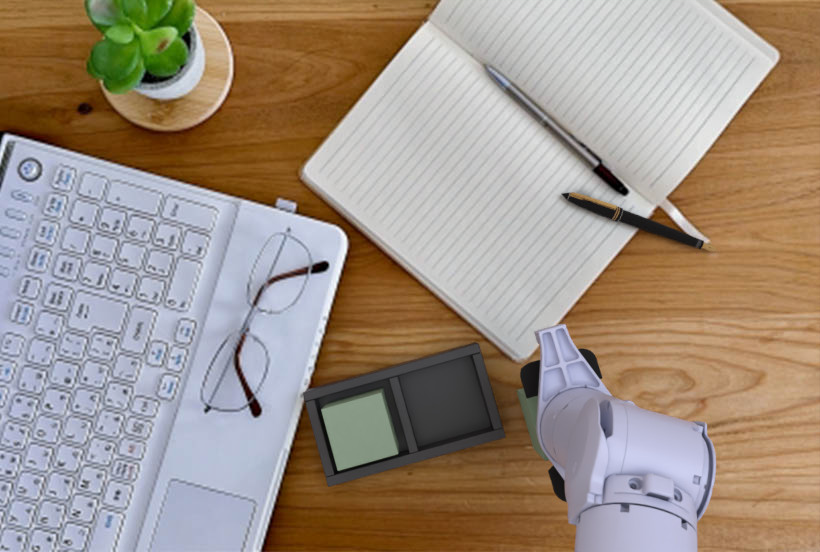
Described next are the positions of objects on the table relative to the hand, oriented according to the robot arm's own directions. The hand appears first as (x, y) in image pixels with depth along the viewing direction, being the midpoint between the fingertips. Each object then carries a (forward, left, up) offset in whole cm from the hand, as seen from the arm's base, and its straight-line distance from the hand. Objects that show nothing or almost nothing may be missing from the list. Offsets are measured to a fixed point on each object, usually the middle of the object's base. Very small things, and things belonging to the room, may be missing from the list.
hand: (557, 414), depth 66 cm
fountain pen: (+13, -12, -5) cm, 18 cm away
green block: (0, 0, -1) cm, 1 cm away
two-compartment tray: (+3, +12, -5) cm, 13 cm away
